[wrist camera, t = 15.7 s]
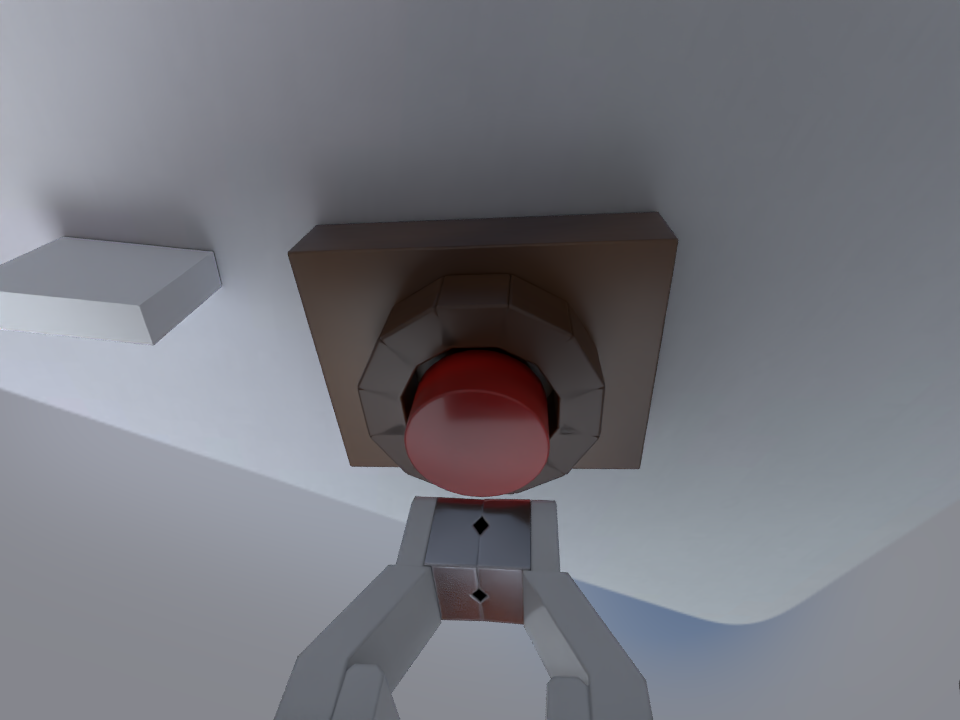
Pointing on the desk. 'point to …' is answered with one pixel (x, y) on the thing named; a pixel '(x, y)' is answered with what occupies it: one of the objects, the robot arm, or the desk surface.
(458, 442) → the button
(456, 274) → the button box
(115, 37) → the desk surface
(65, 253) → the eraser
